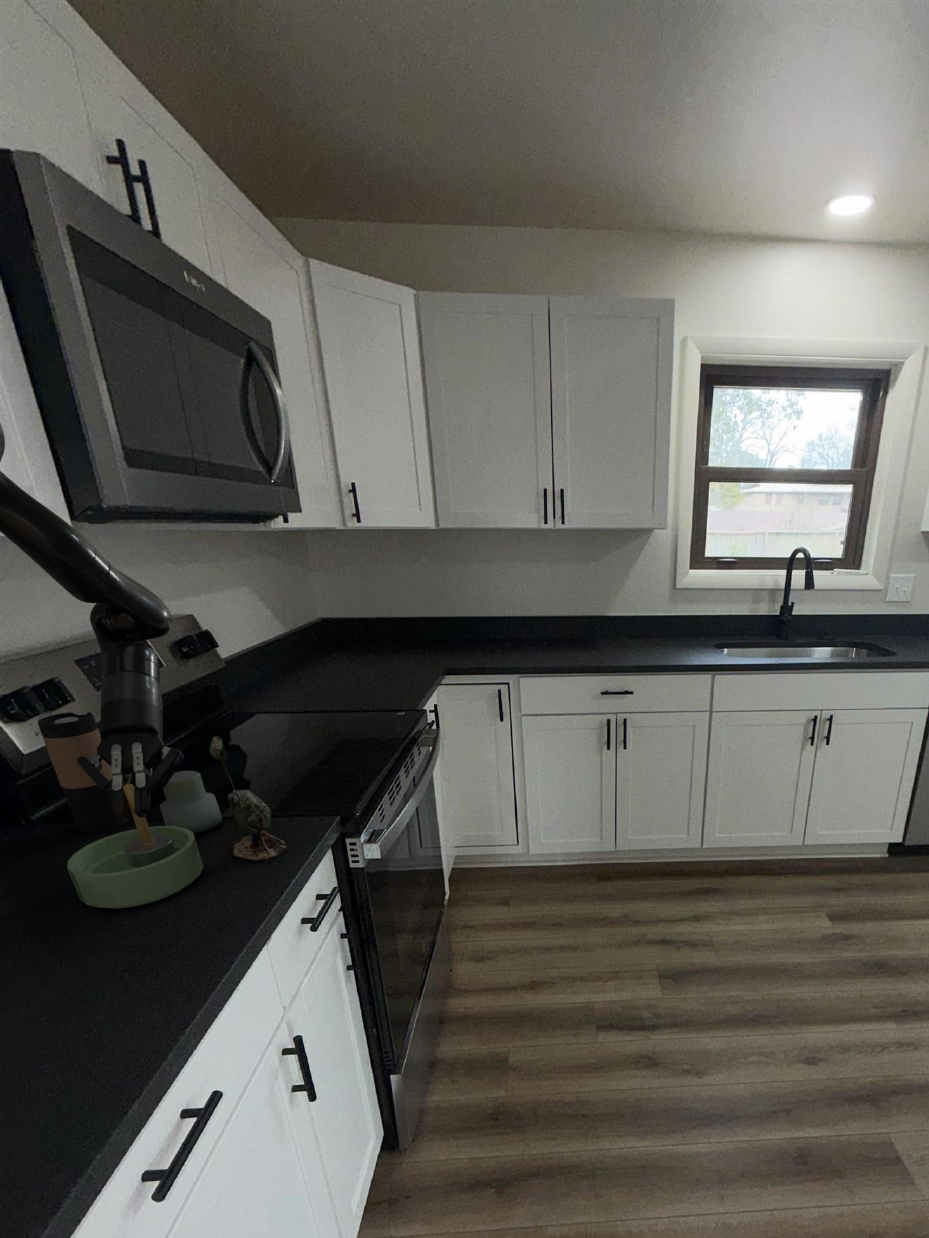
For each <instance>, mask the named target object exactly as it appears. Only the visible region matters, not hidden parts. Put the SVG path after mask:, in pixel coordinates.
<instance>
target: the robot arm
mask: <svg viewBox="0 0 929 1238" xmlns="http://www.w3.org/2000/svg"><path fill="white" fill-rule="evenodd" d="M5 449H6V437H5V432H4V428H3V425H2V424H1V422H0V463H1V462H2V459H3V457H4V455H5V454H4V453H5ZM0 533H1V534H2V535H4V536H5V537H6V538H7V539H8V540H9V541H10V542H12V543H13V544H14V545H15V546H16V547H18V548H19V549H20V550H21V551H22V552H23V553H24V554H26V555H27V557H29V558H30V559H31V560H32V561H33V562H35V564H37V566H39V567H40V568H41V569H42V570H43V571H44V572H45V573H46V574H48V576H49V577H51V578H52V579H53V580H54V581H55V582H56V583H57V584H58V585H60V586H61V587H62V588H63V589H64V590H65V591H66V592H67V593H68V594H69V595H71V596H72V597H73V598H75V599H76V600H77V601H80V602H83V603H86V604H94V605H93V606H92V608H91V610H90V613H89V622H90V626H91V629H92V630H93V632H94V636H95V638H96V641H97V644H98V648H99V650H100V653H101V656H102V659H103V665H102V666H103V667H102V686H101V691H100V718H99V719H100V725H99V726H100V727H99V728H100V729H99V730H100V731H99V733H100V736H101V742H100V744H99V745H98V747H97V752H96V753H94V754H93V755H91V756H89V757H87V758H86V757H84V756H81V757H79V758H78V759H77V762H78V764H79V765H80V766H81V767H82V768H83V769H84V771H85V772H86V773H87V774H88V775H89V776H90V778H91V779H92V780H93V781H94V782H95V783H96V785H97V786H98V787H99V788H101V789H102V790H103V791H104V792H106V793H107V794H114V798H113V810H114V812H115V813H116V814H117V815H119V816H120V817H121V818H122V819H128V820H130V819H131V810H130V807H129V804H128V801H127V798H126V796H125V793H124V790H123V787H124V786H125V785H126V784H131V782H132V775H133V773H134V776H135V787H136V789H134V812H135V814H136V815H137V816H138V817H140V818H141V817H145V818H147V814H149V813H150V811H151V810H152V806H151V805H152V803H151V802H152V801H151V799H152V798H151V797H152V796H151V795H152V792H153V791H154V790H157V789H160V790H161V789H163V788H164V787H165V786H166V785H167V783H168V782H169V780H170V779H171V777H172V776H173V775H174V773H175V772H177V771H178V769H179V767H180V766H181V765H182V763H183V762H184V761H185V756H184V755H183V753H182V752H181V751H180V750H179V749H178V748H177V747H169V746H167V744H166V743H165V742H164V721H163V719H164V718H163V711H164V704H163V696H162V695H163V694H162V692H161V691H162V689H161V673H160V670H161V669H160V668H161V666H160V659H159V656H158V654H157V653H156V652H155V651H154V650H153V649H152V648H150V647H149V646H147V645H145V644H141V642H144V641H149V640H154V639H158V638H161V637H164V636H166V635H167V634H169V632H171V630H172V628H173V616H172V614H171V611H170V609H169V607H168V606H167V604H166V603H165V601H163V600H162V599H161V598H160V597H159V596H158V595H157V594H156V593H155V592H153V591H152V590H151V589H149V588H147V587H146V586H145V585H143V584H142V583H140V582H138V581H137V580H135V579H133V578H132V577H131V576H129V575H127V574H126V573H124V572H123V571H122V570H119V569H117V568H116V567H114V566H113V564H111V563H110V562H109V560H108V559H107V558H106V557H105V556H103V554H102V553H101V552H100V551H99V550H98V549H97V548H96V547H95V546H94V545H93V543H91V541H89V540H88V539H87V538H86V537H85V536H84V535H83V534H81V533H80V532H79V531H78V529H76V528H74V527H73V526H72V525H71V524H70V523H68V522H67V521H66V520H64V519H63V518H62V517H61V516H60V515H57V513H55V512H54V511H52V510H51V509H49V508H48V507H47V506H45V505H44V504H43V503H41V502H40V501H38V500H37V499H36V498H34V497H33V496H31V495H30V494H29V493H27V492H26V491H25V490H24V489H22V487H20V486H19V485H18V484H16V483H15V482H14V481H13V480H11V479H10V478H9V477H8V476H7V475H6V474H5V473H4V472H3V471H1V470H0ZM139 642H140V643H139ZM160 759H162V760H161V761H160V763H159V764H158V766H157V767H156V769H154V770H153V767H155V765H156V764H157V763H158V762H159V760H160ZM102 760H104V761H105V762H106V763H107V764H109V765H110V766H111V774H112V782H109V781H108V780H107V779H106V778H105V776H104V775H103V774H102V773H101V772H100V771H99V770H101V769H102V764H101V761H102Z"/></svg>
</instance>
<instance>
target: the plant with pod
mask: <svg viewBox="0 0 929 1238" xmlns="http://www.w3.org/2000/svg"><path fill="white" fill-rule="evenodd" d="M209 753H210V755H211V756H212V758H214V759H215V760H216V761H218V762H221V765H222V767H223V768H224V771H225V773H226V775H227V777H228V779H229V782H230V784H231V786H232V789H233V791H232V792H231V793H229V794H228V795H227V800H228V801H229V805H230V809H231V812H230V813H231V815H232V819H233V822H234V828H235V830H236V831H235V832H236V833H237V834H238V835H239V836H240V837H242V838H241V840H239V841H236V842H234V843H232V848H233V852H232V855H233V856H234V857H238V858H242V859H247V860H250V861H257V862H258V861H264V860H269V858H271V859H272V858H273V857H276V856H279V855H282V854H284V852H285V851H286V850H288V849H287V848H288V847H287V845H286V842H284V841H285V840H283V839H280V837H278V836H277V835H273V834H270V833H268V832H267V831H266V830H267V829H269V828H270V824H271V822H272V814H271V809H270V808H269V806H267V804H265V802H264V801H263V800H262V799H261V798H259V797H258V796H257V795H255V794H254V793H252V792H251V791H250V790H248V789H236V787H235V785H234V782H233V779H232V777H231V775H230V772H229V770H228V769H227V763H226V761H225V760H227V755H228V754H227V751H226V748H225V745H224V741H223V739H222V738H221V737H220V736H217V735H216V736H213V737H212V740H211V742H210V746H209Z"/></svg>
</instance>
